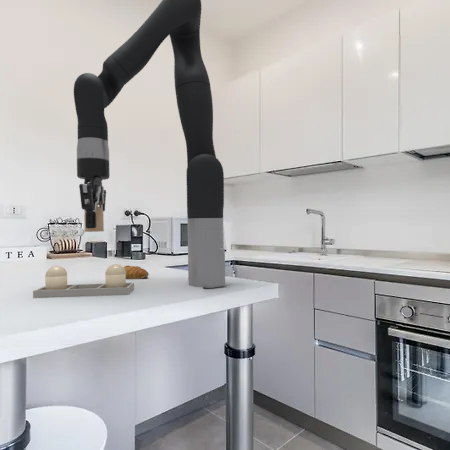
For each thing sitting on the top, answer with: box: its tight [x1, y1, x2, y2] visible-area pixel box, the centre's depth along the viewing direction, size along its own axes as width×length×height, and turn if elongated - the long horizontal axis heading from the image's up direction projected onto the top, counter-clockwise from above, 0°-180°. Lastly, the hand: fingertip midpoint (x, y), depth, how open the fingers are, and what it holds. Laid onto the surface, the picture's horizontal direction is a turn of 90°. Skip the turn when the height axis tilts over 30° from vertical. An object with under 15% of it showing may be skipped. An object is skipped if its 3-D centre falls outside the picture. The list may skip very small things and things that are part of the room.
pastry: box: [122, 265, 150, 280], centre depth 105 cm, size 9×7×4 cm
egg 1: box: [44, 265, 68, 290], centre depth 77 cm, size 4×4×6 cm
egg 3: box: [104, 263, 127, 288], centre depth 79 cm, size 4×4×6 cm
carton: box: [32, 282, 135, 299], centre depth 78 cm, size 20×7×2 cm, turn 95°
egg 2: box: [83, 205, 105, 233], centre depth 85 cm, size 4×4×6 cm
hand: (94, 227), depth 85 cm, fingers closed on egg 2, 4 cm apart
